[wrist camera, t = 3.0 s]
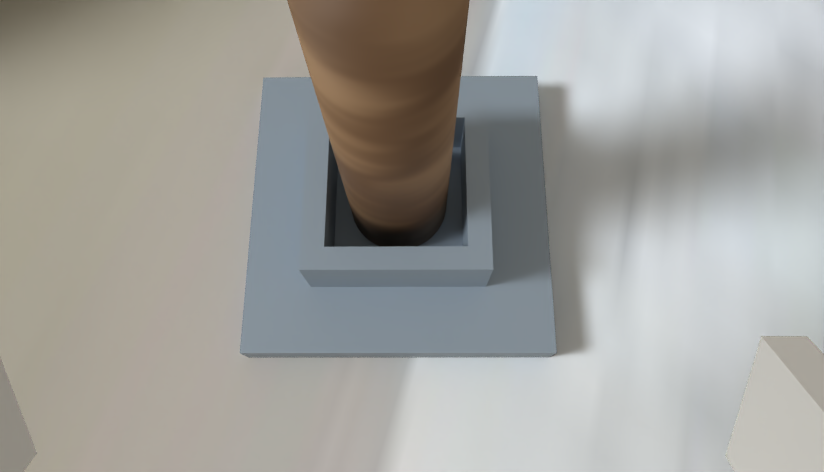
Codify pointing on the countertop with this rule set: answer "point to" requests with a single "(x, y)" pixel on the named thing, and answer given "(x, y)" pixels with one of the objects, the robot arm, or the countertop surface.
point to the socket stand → (402, 265)
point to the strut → (388, 105)
